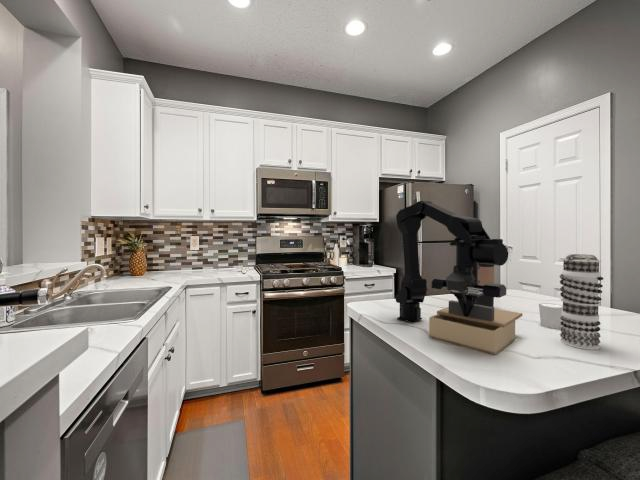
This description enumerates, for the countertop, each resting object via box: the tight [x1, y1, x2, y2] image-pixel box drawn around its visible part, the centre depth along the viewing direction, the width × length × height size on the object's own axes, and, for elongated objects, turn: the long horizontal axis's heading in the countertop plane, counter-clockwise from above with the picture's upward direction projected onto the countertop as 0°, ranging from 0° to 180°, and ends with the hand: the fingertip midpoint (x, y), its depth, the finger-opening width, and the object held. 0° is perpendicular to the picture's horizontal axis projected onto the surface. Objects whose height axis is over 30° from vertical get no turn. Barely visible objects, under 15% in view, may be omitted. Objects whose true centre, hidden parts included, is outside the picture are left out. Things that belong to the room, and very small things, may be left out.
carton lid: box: [436, 299, 523, 327], centre depth 92 cm, size 19×17×4 cm
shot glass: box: [538, 302, 563, 330], centre depth 100 cm, size 7×7×7 cm
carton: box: [428, 313, 516, 356], centre depth 89 cm, size 18×16×6 cm
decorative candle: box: [559, 253, 604, 351], centre depth 84 cm, size 9×9×25 cm
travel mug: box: [475, 263, 495, 307], centre depth 123 cm, size 8×8×20 cm
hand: (466, 316), depth 86 cm, fingers closed
